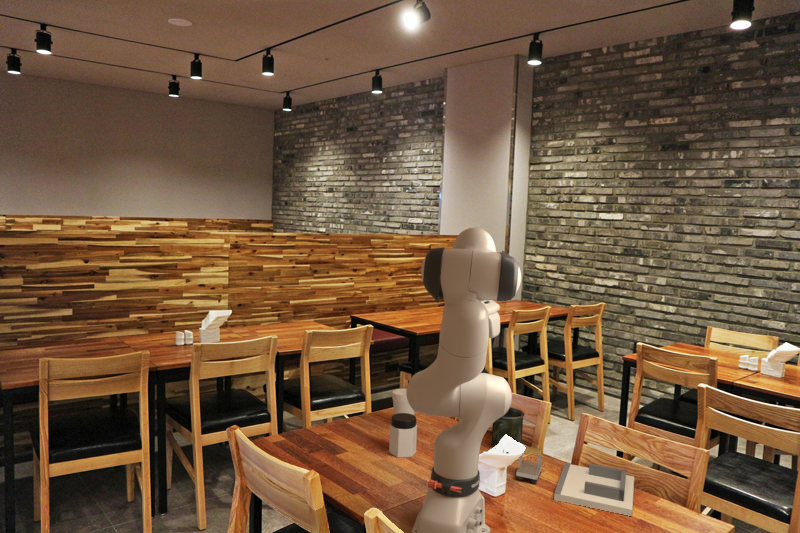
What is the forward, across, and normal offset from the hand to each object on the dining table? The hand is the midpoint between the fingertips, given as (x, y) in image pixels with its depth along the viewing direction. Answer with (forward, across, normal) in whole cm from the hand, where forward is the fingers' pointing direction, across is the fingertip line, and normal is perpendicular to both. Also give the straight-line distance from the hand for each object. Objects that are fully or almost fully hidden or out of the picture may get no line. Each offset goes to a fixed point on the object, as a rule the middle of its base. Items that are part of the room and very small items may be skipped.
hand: (469, 342), depth 181 cm
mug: (+40, +8, +12) cm, 42 cm away
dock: (+34, +44, +5) cm, 56 cm away
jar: (+38, -12, -17) cm, 43 cm away
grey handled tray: (+35, +26, -1) cm, 44 cm away
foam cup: (+42, -28, 0) cm, 51 cm away
